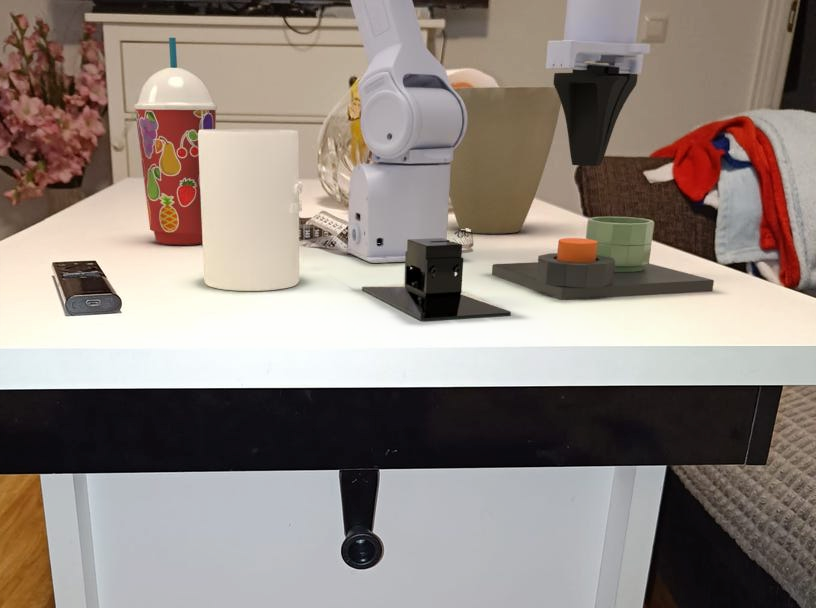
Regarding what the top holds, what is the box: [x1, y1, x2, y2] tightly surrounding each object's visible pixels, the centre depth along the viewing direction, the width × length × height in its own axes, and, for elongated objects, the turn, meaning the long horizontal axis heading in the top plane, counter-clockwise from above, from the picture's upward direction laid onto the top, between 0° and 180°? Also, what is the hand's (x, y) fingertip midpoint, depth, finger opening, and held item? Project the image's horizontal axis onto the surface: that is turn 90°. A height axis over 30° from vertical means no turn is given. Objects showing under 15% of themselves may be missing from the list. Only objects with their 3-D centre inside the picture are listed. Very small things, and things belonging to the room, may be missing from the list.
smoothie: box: [133, 37, 218, 246], centre depth 97 cm, size 8×8×20 cm
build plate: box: [361, 238, 512, 323], centre depth 70 cm, size 12×7×5 cm, turn 18°
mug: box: [198, 128, 303, 292], centre depth 78 cm, size 8×12×12 cm
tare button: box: [556, 237, 598, 262], centre depth 74 cm, size 3×3×2 cm
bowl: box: [585, 216, 655, 272], centre depth 80 cm, size 5×5×4 cm
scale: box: [491, 252, 715, 301], centre depth 78 cm, size 14×12×3 cm
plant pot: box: [447, 86, 562, 235], centre depth 109 cm, size 15×15×16 cm
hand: (586, 165), depth 78 cm, fingers closed
